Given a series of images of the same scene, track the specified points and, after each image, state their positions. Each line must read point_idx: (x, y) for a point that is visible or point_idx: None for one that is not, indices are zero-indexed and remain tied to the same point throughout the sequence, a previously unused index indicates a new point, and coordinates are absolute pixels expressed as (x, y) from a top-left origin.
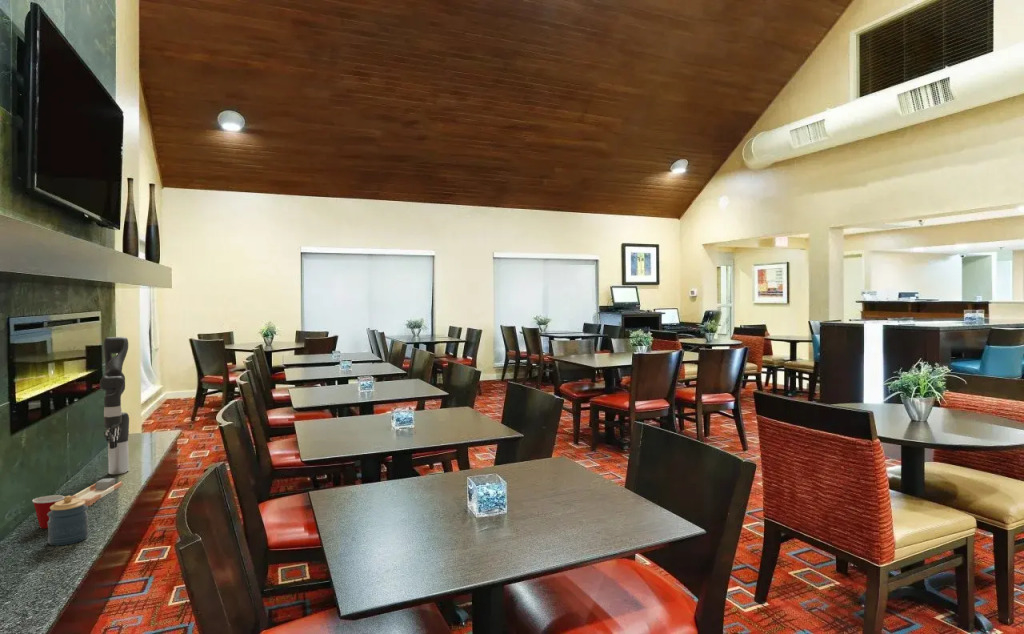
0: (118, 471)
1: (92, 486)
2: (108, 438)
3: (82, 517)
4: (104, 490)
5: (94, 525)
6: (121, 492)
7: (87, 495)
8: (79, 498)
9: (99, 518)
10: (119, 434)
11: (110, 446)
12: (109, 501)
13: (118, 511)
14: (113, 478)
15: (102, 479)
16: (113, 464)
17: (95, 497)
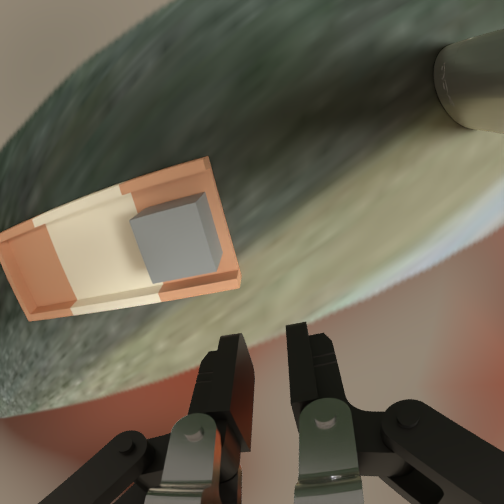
0: (449, 104)
1: (142, 188)
2: (164, 467)
3: None
4: None
5: (4, 385)
6: (163, 326)
7: (83, 232)
8: (52, 231)
9: (19, 379)
10: (418, 494)
11: (203, 375)
12: (82, 343)
13: (55, 396)
14: (210, 266)
15: (181, 216)
16: (465, 77)
17: (50, 317)
